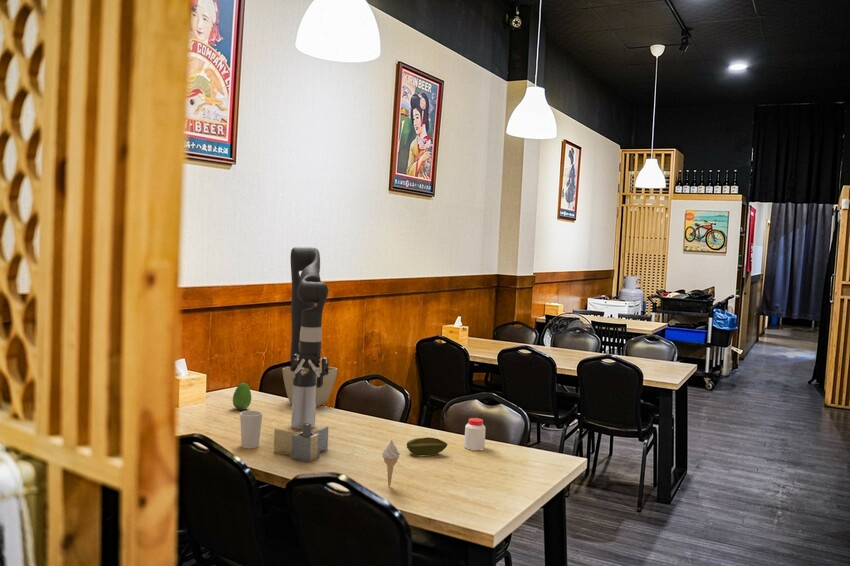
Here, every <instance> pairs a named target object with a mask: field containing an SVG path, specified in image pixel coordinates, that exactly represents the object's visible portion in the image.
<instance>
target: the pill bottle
mask: <svg viewBox="0 0 850 566" xmlns="http://www.w3.org/2000/svg"><path fill="white" fill-rule="evenodd" d="M464 428H465V429H464V442H463V444H464V445H463V448H464V447H465V448H467V449H472V450H481V449H484V450H485V446H486V445H485V444H486V442H485V441H486V426H485V425H484V419H482V418H478V417H470V418H468V422H467V424H465V427H464ZM465 448H464V449H465ZM467 449H466V450H467Z"/></svg>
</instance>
